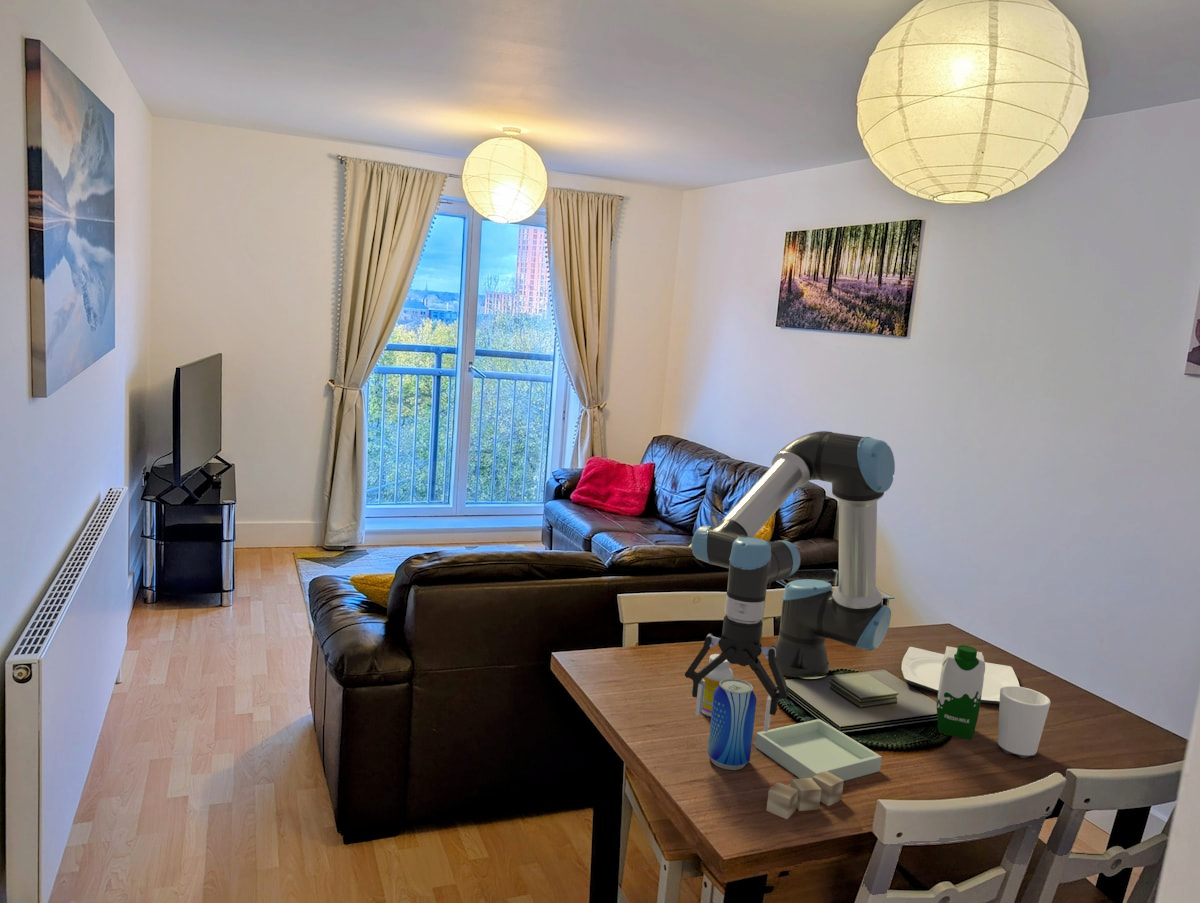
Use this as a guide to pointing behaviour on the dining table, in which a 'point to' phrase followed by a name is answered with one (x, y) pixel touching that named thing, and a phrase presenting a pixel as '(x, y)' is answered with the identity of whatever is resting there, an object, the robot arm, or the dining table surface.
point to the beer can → (732, 724)
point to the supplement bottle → (714, 683)
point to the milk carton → (960, 691)
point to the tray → (817, 751)
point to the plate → (926, 674)
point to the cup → (1021, 720)
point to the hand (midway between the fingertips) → (731, 720)
